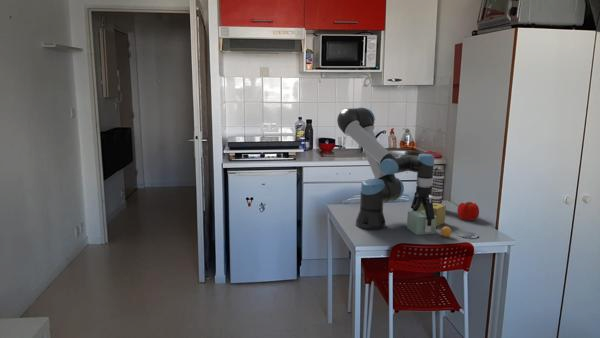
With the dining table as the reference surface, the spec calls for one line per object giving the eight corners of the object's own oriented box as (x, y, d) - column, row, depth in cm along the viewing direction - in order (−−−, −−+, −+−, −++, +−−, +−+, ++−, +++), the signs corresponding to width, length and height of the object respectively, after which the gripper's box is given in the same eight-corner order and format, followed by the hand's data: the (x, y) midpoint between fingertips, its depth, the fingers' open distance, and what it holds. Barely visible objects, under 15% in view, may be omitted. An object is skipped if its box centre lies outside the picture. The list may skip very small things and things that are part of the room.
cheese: (427, 218, 246) (429, 200, 244) (445, 223, 239) (447, 205, 237) (417, 222, 239) (418, 204, 237) (435, 227, 232) (437, 208, 230)
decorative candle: (428, 211, 259) (432, 168, 254) (423, 207, 268) (426, 165, 263) (444, 211, 260) (448, 169, 255) (438, 207, 269) (442, 166, 264)
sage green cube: (416, 234, 220) (417, 217, 218) (406, 227, 230) (408, 211, 228) (435, 233, 222) (436, 216, 220) (425, 226, 232) (426, 210, 230)
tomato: (465, 215, 254) (467, 199, 253) (482, 221, 244) (484, 204, 242) (451, 217, 250) (453, 201, 248) (468, 223, 239) (470, 207, 237)
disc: (464, 239, 215) (464, 239, 215) (453, 232, 224) (453, 232, 224) (483, 238, 217) (483, 237, 217) (471, 231, 226) (471, 231, 226)
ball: (443, 238, 215) (444, 228, 214) (438, 235, 220) (439, 225, 219) (453, 238, 216) (454, 228, 215) (447, 234, 221) (448, 224, 220)
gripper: (444, 191, 210) (440, 235, 214) (419, 180, 234) (416, 219, 238) (429, 192, 209) (426, 236, 213) (406, 180, 232) (403, 220, 236)
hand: (421, 227), depth 225 cm, fingers open, 12 cm apart
